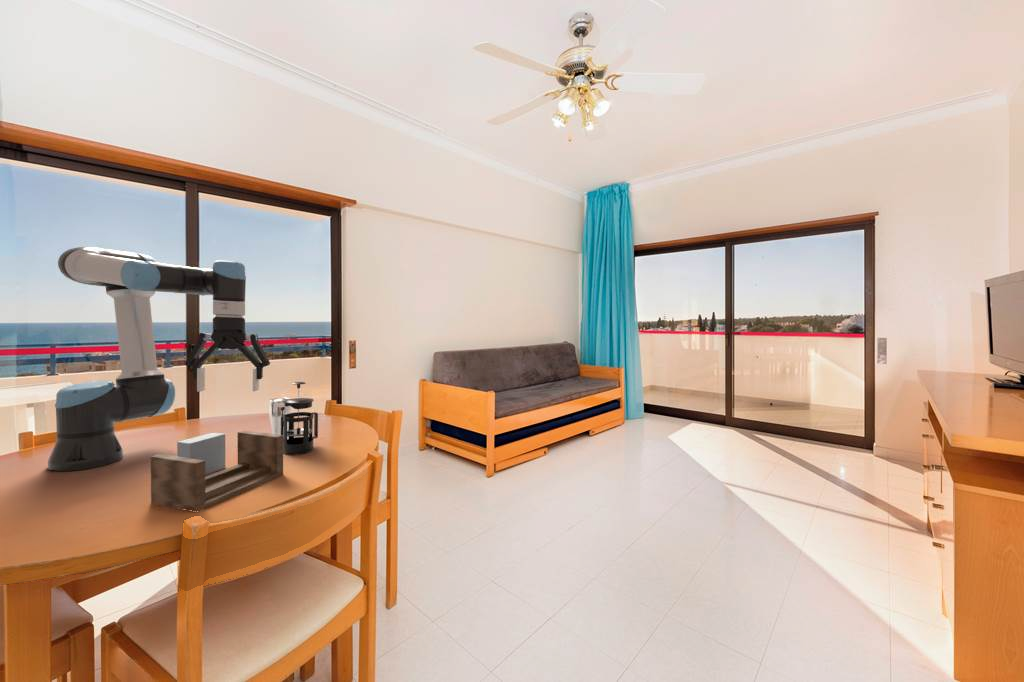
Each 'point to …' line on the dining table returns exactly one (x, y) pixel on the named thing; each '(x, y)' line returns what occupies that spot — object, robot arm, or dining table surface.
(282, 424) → the white silver canister
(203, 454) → the plain grey rectangular block
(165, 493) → the track base
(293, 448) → the french press
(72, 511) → the dining table surface
